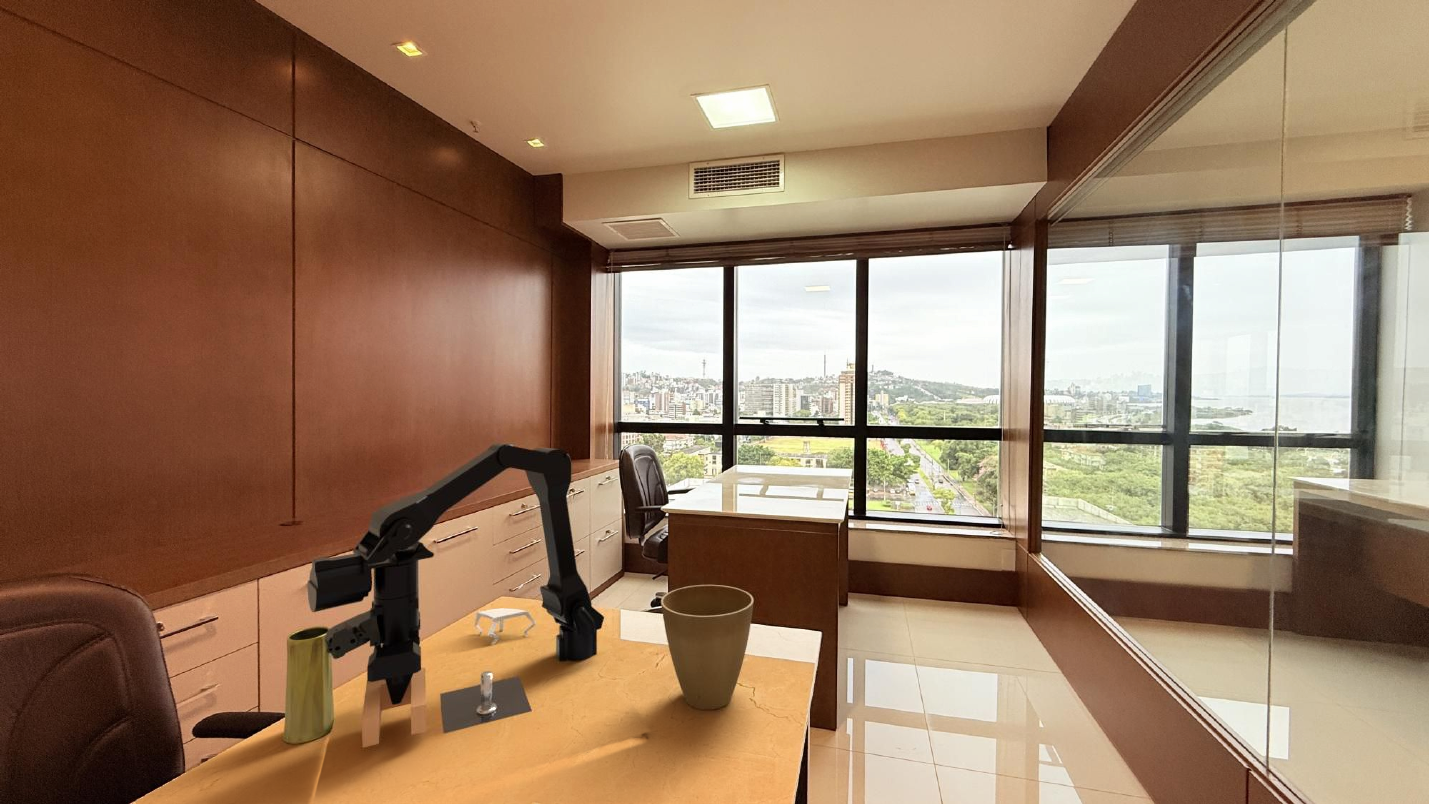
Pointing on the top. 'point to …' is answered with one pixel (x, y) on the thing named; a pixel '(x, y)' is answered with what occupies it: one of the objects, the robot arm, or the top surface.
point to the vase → (308, 686)
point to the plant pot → (707, 640)
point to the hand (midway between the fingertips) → (396, 699)
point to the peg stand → (483, 703)
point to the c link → (381, 700)
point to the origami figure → (501, 619)
